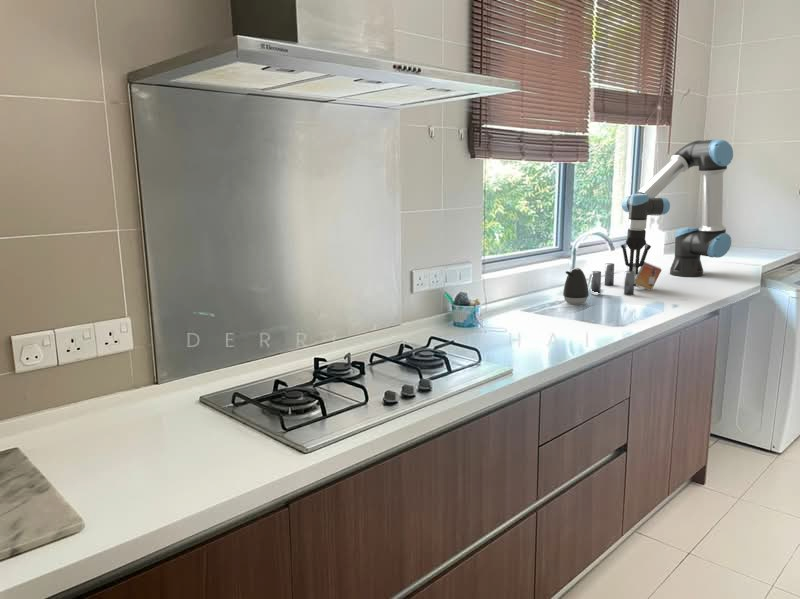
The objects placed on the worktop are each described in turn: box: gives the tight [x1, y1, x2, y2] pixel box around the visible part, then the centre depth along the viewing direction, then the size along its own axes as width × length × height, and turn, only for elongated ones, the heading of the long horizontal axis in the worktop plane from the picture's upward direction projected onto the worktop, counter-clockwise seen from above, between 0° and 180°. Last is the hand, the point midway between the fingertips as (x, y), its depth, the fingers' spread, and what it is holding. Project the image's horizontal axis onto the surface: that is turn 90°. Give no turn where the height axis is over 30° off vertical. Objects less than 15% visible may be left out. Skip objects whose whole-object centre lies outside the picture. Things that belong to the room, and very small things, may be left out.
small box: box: [634, 261, 662, 291], centre depth 286 cm, size 8×6×10 cm
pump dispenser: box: [562, 267, 590, 306], centre depth 265 cm, size 10×10×15 cm
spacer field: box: [590, 262, 637, 296], centre depth 289 cm, size 22×24×10 cm
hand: (632, 281), depth 288 cm, fingers closed
